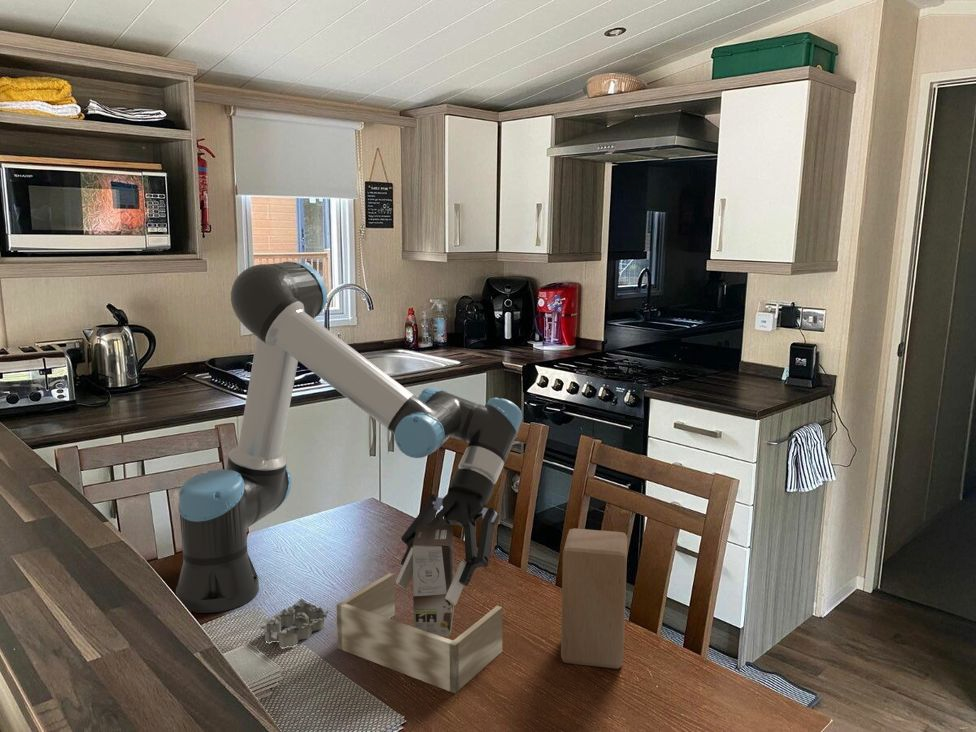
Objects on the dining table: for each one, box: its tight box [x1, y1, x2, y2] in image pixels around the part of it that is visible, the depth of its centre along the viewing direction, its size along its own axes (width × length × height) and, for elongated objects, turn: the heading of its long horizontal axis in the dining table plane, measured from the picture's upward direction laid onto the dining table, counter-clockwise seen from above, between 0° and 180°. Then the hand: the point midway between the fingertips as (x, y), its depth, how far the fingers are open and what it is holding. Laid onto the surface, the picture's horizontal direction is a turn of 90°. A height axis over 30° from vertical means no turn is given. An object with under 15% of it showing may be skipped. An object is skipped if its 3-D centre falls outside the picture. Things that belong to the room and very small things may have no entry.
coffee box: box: [412, 524, 455, 638], centre depth 129 cm, size 9×6×16 cm
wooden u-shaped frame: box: [336, 572, 503, 694], centre depth 127 cm, size 24×14×8 cm, turn 58°
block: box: [560, 528, 628, 670], centre depth 126 cm, size 10×10×20 cm
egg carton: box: [259, 598, 330, 647], centre depth 133 cm, size 11×8×4 cm
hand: (424, 593), depth 127 cm, fingers closed on coffee box, 10 cm apart
